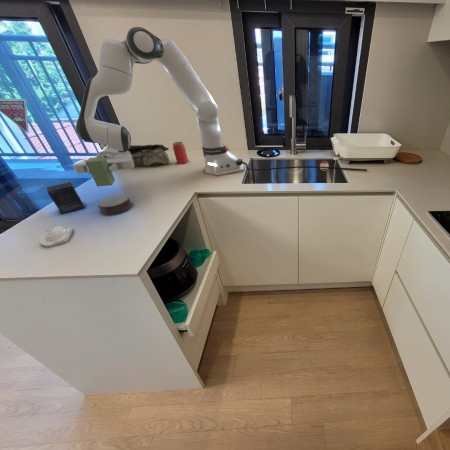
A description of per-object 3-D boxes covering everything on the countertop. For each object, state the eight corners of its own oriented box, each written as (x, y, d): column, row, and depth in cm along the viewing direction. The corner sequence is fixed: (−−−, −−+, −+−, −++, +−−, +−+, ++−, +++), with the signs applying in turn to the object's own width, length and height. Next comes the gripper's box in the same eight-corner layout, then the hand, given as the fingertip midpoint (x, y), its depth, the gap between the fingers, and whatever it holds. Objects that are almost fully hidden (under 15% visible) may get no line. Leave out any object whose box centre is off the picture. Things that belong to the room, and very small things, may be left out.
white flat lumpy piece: (76, 224, 86) (43, 239, 78) (82, 234, 88) (51, 250, 81) (60, 218, 89) (26, 232, 82) (66, 228, 92) (34, 242, 84)
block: (115, 180, 101) (104, 156, 95) (111, 185, 97) (100, 160, 91) (101, 181, 99) (89, 157, 94) (97, 186, 95) (85, 162, 90)
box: (83, 203, 108) (70, 181, 102) (84, 208, 104) (72, 185, 98) (60, 209, 103) (46, 186, 97) (61, 214, 100) (46, 191, 94)
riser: (134, 201, 110) (131, 193, 108) (129, 212, 101) (125, 204, 99) (106, 204, 107) (102, 196, 105) (98, 217, 98) (93, 208, 96)
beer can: (190, 160, 155) (185, 141, 149) (185, 164, 150) (180, 144, 143) (180, 160, 156) (175, 141, 149) (175, 163, 151) (169, 144, 144)
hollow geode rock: (124, 174, 148) (110, 162, 134) (123, 155, 150) (109, 142, 136) (173, 168, 154) (165, 157, 140) (171, 150, 156) (162, 137, 142)
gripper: (77, 154, 100) (63, 166, 89) (133, 150, 106) (126, 160, 95) (84, 169, 104) (71, 181, 93) (138, 164, 110) (132, 175, 99)
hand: (99, 171), depth 94 cm, fingers closed on block, 5 cm apart
